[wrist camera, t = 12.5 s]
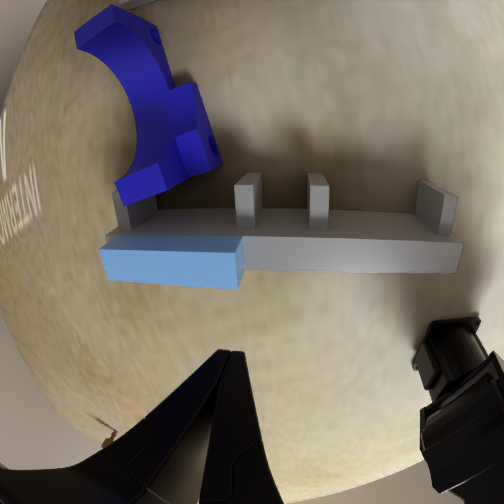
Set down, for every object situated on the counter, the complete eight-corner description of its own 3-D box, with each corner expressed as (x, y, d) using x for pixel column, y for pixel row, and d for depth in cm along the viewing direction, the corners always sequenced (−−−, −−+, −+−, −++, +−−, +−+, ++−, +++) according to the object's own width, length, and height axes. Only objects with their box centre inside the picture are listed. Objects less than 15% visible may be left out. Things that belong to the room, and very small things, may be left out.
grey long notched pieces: (422, -11, 9) (463, -46, 3) (426, 240, 18) (470, 290, 12) (129, 0, 13) (74, -25, 6) (145, 234, 21) (95, 278, 15)
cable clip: (223, 163, 18) (193, 181, 13) (167, 182, 19) (123, 206, 14) (176, 18, 14) (134, -10, 8) (124, 45, 15) (74, 32, 10)
